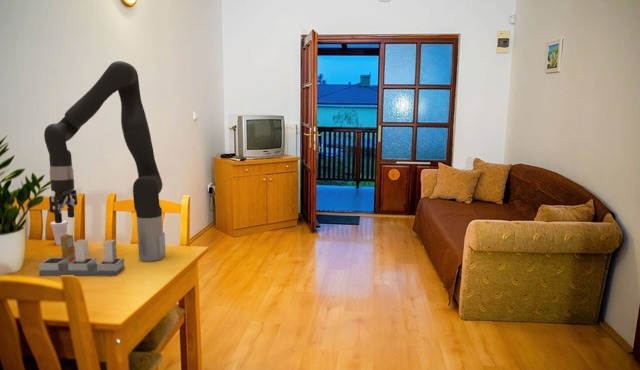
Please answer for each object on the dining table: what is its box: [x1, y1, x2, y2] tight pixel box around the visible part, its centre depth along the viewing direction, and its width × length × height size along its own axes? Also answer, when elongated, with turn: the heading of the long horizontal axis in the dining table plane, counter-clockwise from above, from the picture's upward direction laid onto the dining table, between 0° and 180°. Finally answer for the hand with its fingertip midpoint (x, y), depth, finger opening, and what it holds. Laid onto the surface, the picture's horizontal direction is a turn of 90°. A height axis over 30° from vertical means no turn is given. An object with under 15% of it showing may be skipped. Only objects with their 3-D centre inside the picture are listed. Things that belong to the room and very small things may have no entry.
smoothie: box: [50, 219, 69, 246], centre depth 184 cm, size 6×6×14 cm
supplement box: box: [60, 234, 75, 263], centre depth 165 cm, size 3×3×10 cm
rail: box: [38, 239, 125, 277], centre depth 154 cm, size 27×8×12 cm, turn 92°
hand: (65, 220), depth 163 cm, fingers open, 8 cm apart
